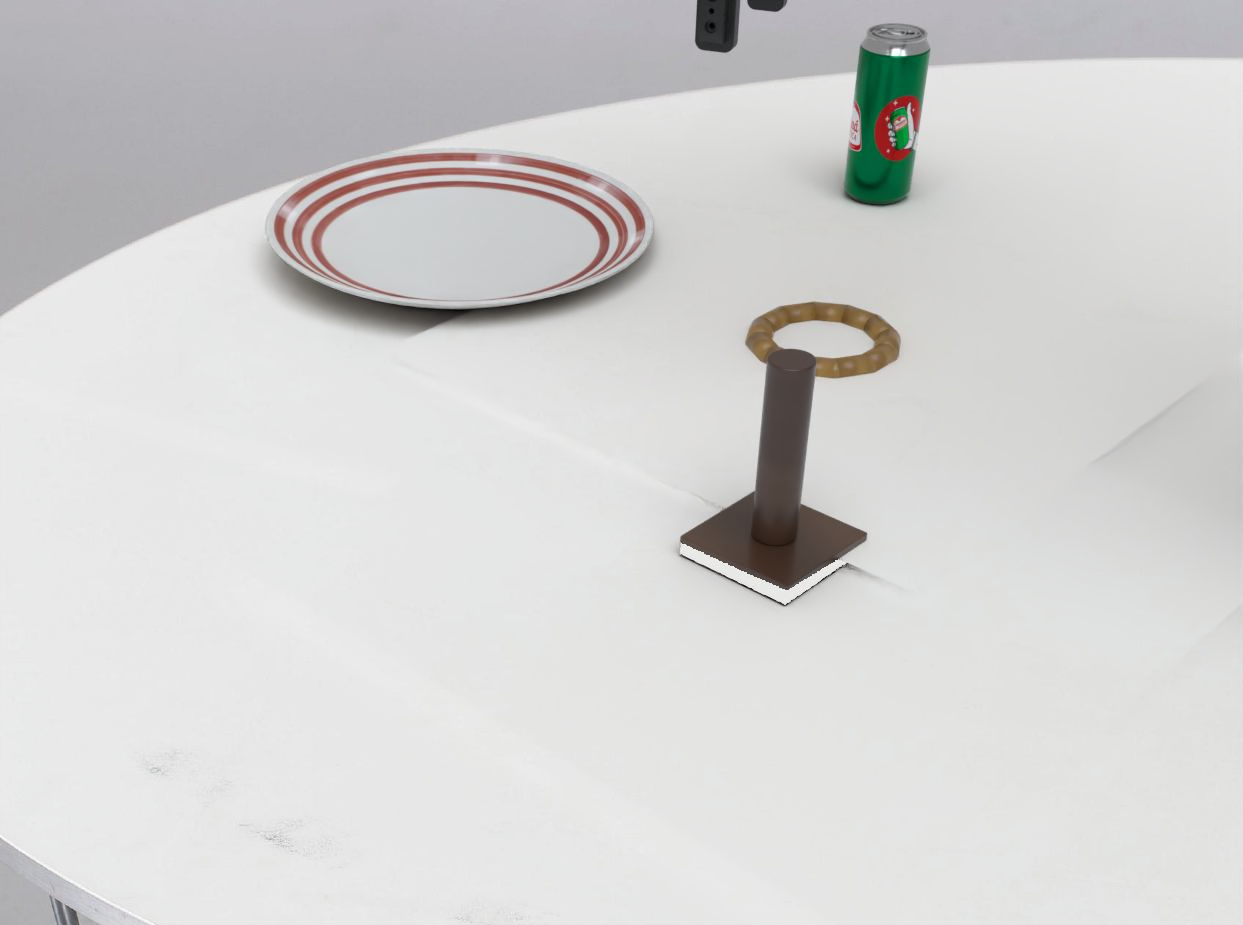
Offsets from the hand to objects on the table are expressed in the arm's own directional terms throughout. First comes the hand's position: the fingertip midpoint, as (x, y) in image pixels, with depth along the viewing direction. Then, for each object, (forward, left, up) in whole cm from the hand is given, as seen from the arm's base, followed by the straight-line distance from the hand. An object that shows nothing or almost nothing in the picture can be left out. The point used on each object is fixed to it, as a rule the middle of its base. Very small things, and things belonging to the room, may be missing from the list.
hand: (742, 28), depth 91 cm
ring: (-5, +4, -19) cm, 20 cm away
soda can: (-30, -9, -20) cm, 37 cm away
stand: (+16, +16, -20) cm, 31 cm away
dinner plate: (0, -24, -20) cm, 31 cm away
